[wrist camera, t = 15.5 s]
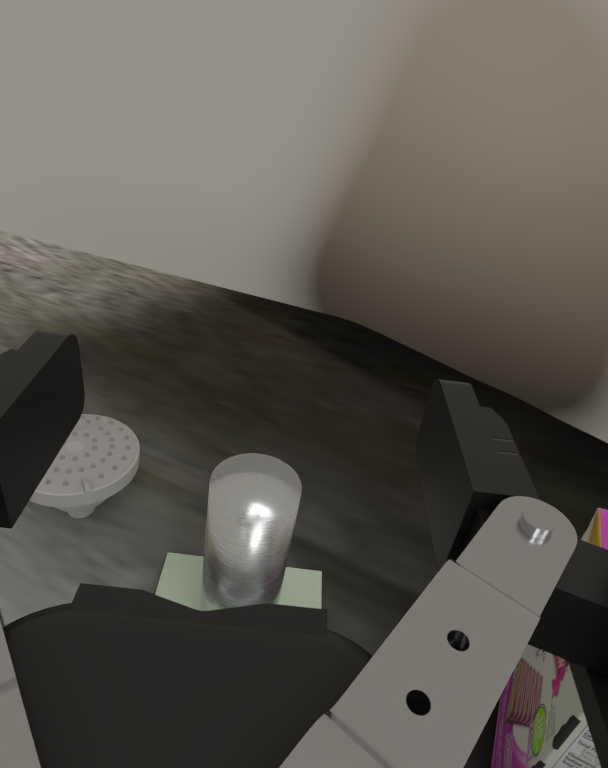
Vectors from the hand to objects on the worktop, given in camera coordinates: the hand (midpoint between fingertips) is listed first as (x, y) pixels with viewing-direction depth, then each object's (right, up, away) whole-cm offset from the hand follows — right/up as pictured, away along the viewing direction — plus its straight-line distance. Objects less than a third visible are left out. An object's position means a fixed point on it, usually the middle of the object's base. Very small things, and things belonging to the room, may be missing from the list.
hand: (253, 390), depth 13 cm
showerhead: (-17, -10, +33) cm, 39 cm away
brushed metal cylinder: (-4, -17, +25) cm, 30 cm away
